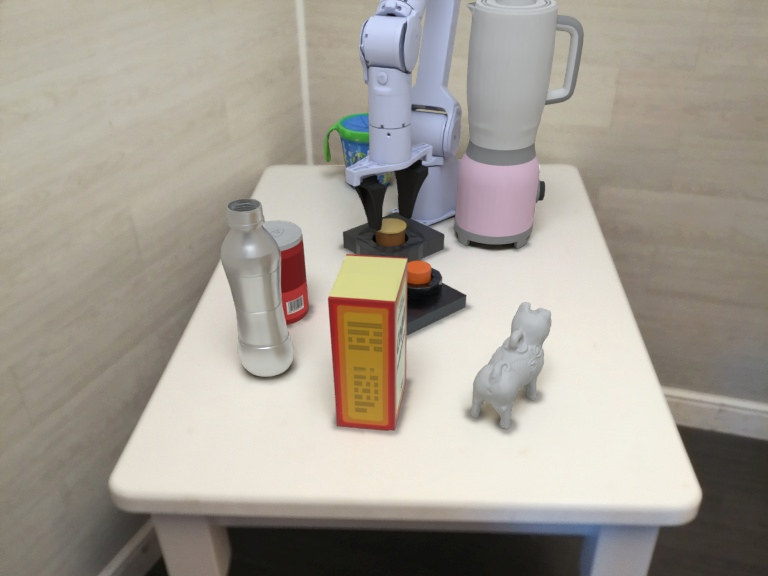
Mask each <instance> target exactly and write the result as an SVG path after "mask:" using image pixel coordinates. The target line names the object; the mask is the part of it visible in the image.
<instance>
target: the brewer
mask: <svg viewBox="0 0 768 576" xmlns="http://www.w3.org/2000/svg"><path fill="white" fill-rule="evenodd" d="M466 307H467V294H465V293H463V292H461V291H459V290H457V289H456V288H453V287H451V286H450V285H448V284H446V283H444V282H443V276H442V274H441V271H439V270H437V268H434V267H432V266H431V280H430V282H428V283H425V284H412V283H408V282H407V337H408V336H410V335H412V334H414V333H416V332H417V331H420V330H422V329H424V328H427V327H428V326H430V325H432V324H434V323H437V322H438V321H440V320H442V319H445V318H446V317H449V316H451V315H454V314H455V313H457V312H459V311H461V310H463V309H465V308H466Z"/></svg>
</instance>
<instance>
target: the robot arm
mask: <svg viewBox="0 0 768 576" xmlns="http://www.w3.org/2000/svg"><path fill="white" fill-rule="evenodd" d="M461 1H462V0H379V2H378V4H377V7H376V11H375V13H374V14H372V15H371V16H370V17H369V18H367V19H365V20H364V22H363V23H362V26H361V28H360V35H359V45H358V54H359V61H360V63H361V66H362V70H363V81H364V84H365V85H367V99H368V100H367V102H368V103H367V104H368V105H367V106H368V107H367V108H368V113H369V150H368V151H367V156H366V157H365V158H363V159H362V160H360V161H359V162H357V163H356V164H354V165H352V166H350V167H347V168H346V167H345V168H344V170H345V173H344V174H345V183H346V184H348V185H350V186H352V185H353V186H352V187H353V188H354V190H355V192H356V193H357V195H358V198H359V199H360V202H361V204H362V207H363V210H364V213H365V217H366V221H367V223H368V225H369V227H370V228H372V229H374V230H376V231H379V230H381V227H382V217H383V207H384V201H385V197H386V192H387V190H388V186H387V185H383V184H381V183H380V180H377V176H380V175H383V174H386V173H389V172H391V173H392V172H393V173H394V176H395V181H396V188H397V207H395V208H392V209H391V210H390V214H392V213H395V212H398V213H399V215H401V216H403V217H405V218H407V219H410V218H411V219H413V220H415V221H417V222H419V223H422V224H424V225H426V226H428V227H430V226H431V225H434V224H436V223H439V222H441V221H444V220H446V219H449V218H451V217H453V216H454V217H455V216H456V198H457V182H458V171H459V166H460V162H461V161H460V160H459V158H458V157H457V155H456V154H457V152H458V150H459V146H460V142H461V136H462V114H463V111H462V106H461V104H460V102H459V101H458V99H457V98H456V97H455V96H454V95H453V94H452V93H451V92H450V90H449V89H448V85H449V80H450V73H451V67H452V60H453V53H454V48H455V40H456V34H457V28H458V27H457V26H458V21H459V15H460V13H459V12H460V8H461ZM423 18H424V20H423ZM422 20H423V21H424V22H423V28H422ZM417 62H418V66H417V73H416V79H415V83H414V85H413V70H414V69H415V67H416V65H417ZM441 112H442V113H441Z"/></svg>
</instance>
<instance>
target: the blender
mask: <svg viewBox="0 0 768 576" xmlns="http://www.w3.org/2000/svg"><path fill="white" fill-rule="evenodd" d="M465 6H466V7H467V8H468V9H469V11H470V13H471V25H470V33H469V42H468V52H467V53H468V54H467V68H466V69H467V70H466V71H467V72H466V103H467V105H466V106H467V120H468V122H467V123H468V131H469V132H468V133H469V134H468V135H469V136H468V137H469V139H468V144H467V147H466V149H465V151H464V153H463V155H462V157H461V159H460V161H459V162H460V166H459V171H458V182H457V198H456V215H454V221H453V228H454V231H455V232H456V233H457V239H458V240H457V241H458V243H460V244H462V245H463V246H465V247H466V246H469V245H470V241H471V242H474V243H478V244H484V245H508V244H514V248H516V249H520V248H523V247H524V246H525V245H526V243H527V239H528V237H529V236H530V235H531V234H532V232H533V225H534V217H535V210H536V205H537V204H538V202H541V201H543V200H544V199H545V195H546V182H545V181H544V180H540V173H541V163H540V162H539V159H538V156H537V151H536V138H537V134H538V130H539V126H540V125H541V120H542V115H543V112H544V110H545V106H549V105H555V104H560V103H564V102H567V101H568V100H570V99H571V98H572V97H573V95H574V93H575V89H576V86H577V81H578V76H579V71H580V65H581V58H582V54H583V46H584V39H585V38H584V37H585V35H584V34H585V31H584V28H583V24H582V23H581V22H580V20H579V19H577V18H576V17H574V16H570V15H565V14H564V15H563V14H558V11H559V5H558V3H557V1H556V0H476V1H473V2H468V3H466V5H465ZM556 31H557V32H566V33H568V34H569V36H570V38H569V39H570V41H569V47H568V54H567V61H566V62H567V63H566V68H565V74H564V79H563V84H562V87H561V88H558V89H552V90H549V88H550V82H551V77H552V76H551V75H552V69H553V68H552V67H553V62H554V54H555V48H556V47H555V45H556V34H557V32H556Z"/></svg>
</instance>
